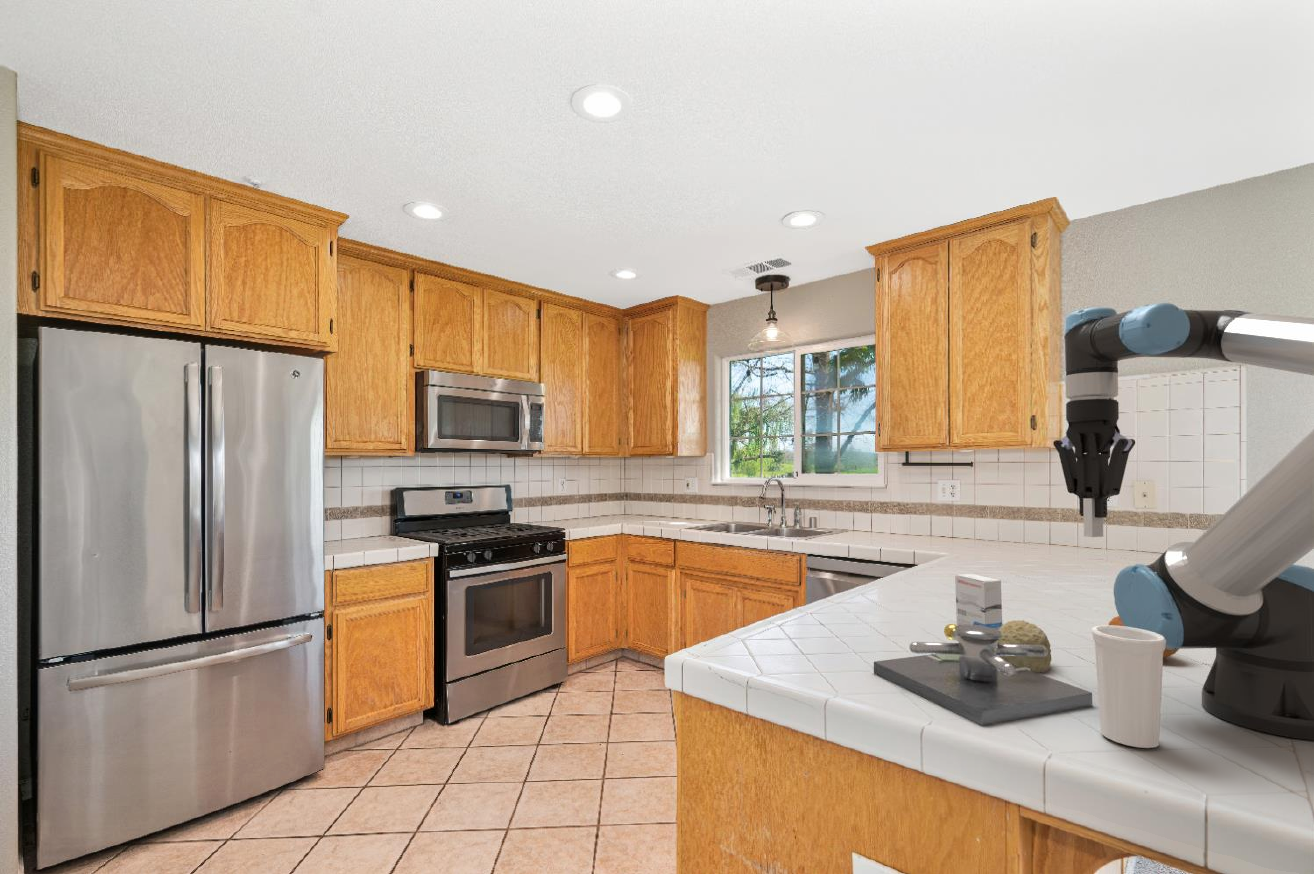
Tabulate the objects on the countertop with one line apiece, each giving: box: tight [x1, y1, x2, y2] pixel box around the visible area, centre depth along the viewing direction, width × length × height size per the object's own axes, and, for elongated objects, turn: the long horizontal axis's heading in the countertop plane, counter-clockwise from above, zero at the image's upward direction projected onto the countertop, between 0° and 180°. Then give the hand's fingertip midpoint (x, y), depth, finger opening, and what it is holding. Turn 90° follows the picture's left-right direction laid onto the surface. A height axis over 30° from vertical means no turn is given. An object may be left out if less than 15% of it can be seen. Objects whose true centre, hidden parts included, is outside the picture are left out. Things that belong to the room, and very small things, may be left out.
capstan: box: [908, 623, 1048, 681], centre depth 104 cm, size 22×22×7 cm
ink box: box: [954, 573, 1003, 630], centre depth 139 cm, size 9×5×12 cm, turn 17°
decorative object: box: [997, 620, 1052, 674], centre depth 116 cm, size 9×10×10 cm
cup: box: [1091, 624, 1166, 749], centre depth 85 cm, size 8×8×14 cm
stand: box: [873, 654, 1093, 727], centre depth 104 cm, size 23×22×2 cm
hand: (1093, 536), depth 109 cm, fingers closed
